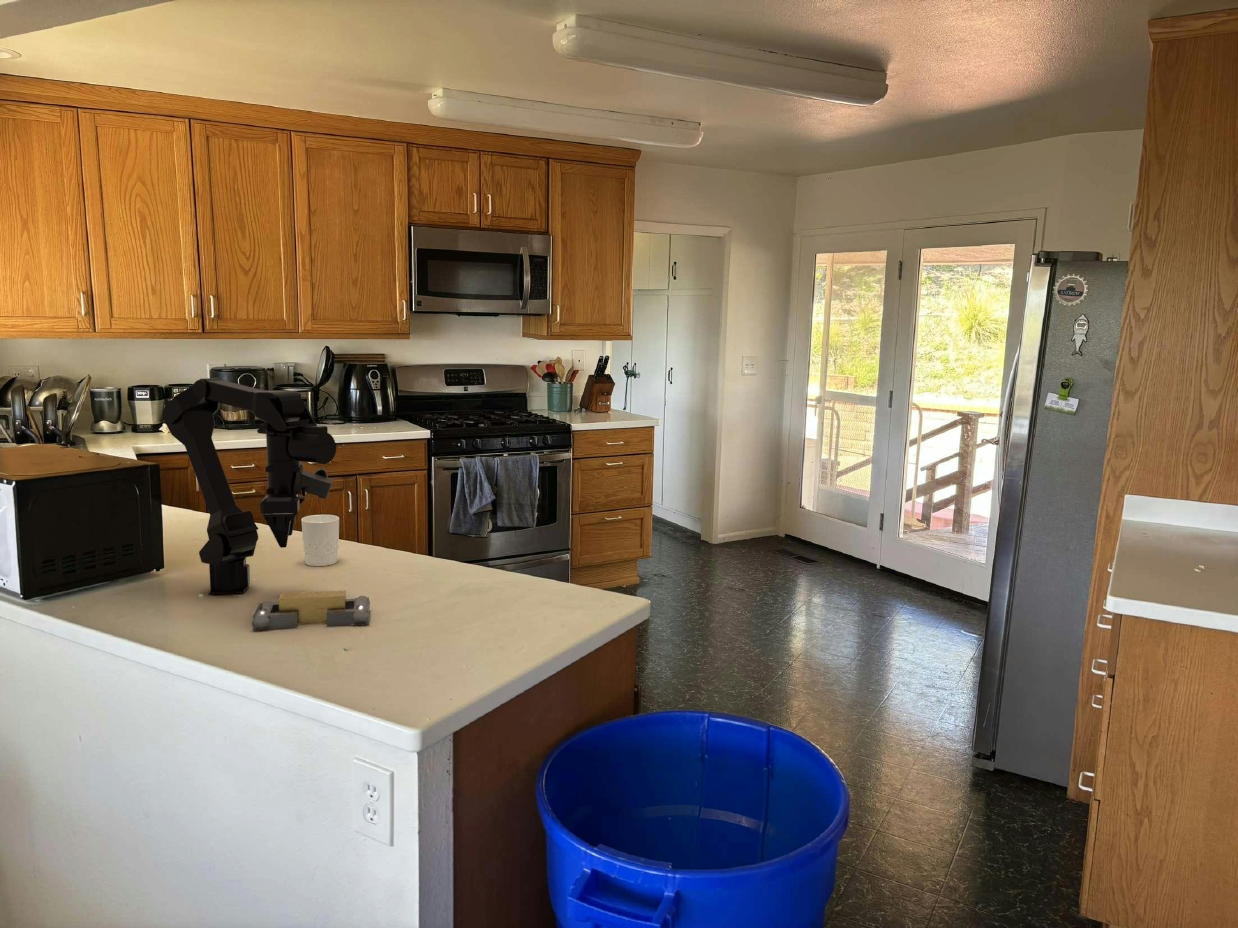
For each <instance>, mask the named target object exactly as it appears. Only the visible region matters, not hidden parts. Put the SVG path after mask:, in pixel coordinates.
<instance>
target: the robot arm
mask: <svg viewBox="0 0 1238 928" xmlns="http://www.w3.org/2000/svg"><path fill="white" fill-rule="evenodd" d="M221 404H223V405H227V406H232V407H235V408H239V409H242V410H246V411H249V412H251V413H252V414H253V415H254V417H255V418H257V419H258V420H261V421H263V422H264V423H263V425H262V426H260V427H259V428H258V429H257V431H256V432H257V434H262V435H265V436H266V437H265V438H266V439H265V441H266V466H265V473H267V488H266V495H265V497H264V498H263V499H262V500H261V501H260V503H259V507H260V508H259V510H260V511H259V512H260V514H262V517H263V518H264V520H265V521H266V523H267V525H268V527H269V529H270V531H271V532H272V534H273V536H274V539H275V540H276V542H277V545H278V546H279V548H281V549H283V548H287V546H288V541H289V537H290V536H292V535H293V533H294V532H293V531H294V526H295V521H296V516H297V515H298V514H299V512H300V505H301V504H302V503H303V502H304V501H305V500H306V496H307V495H308V494H311V495H314V496H317V497H318V498H319V499H324V500H327V498H328V496H329V493H330V490H331V488H332V485H333V483H334V480H333V479H332V477H328V470H326V469H324V468H318V469H317V470H316V471H314V472H312V471H306V470H304V463H313V464H321V465H327V464H329V463H330V462H332V461H333V460H334V458H335V456H336V453H337V448H338V447H337V443H336V441H335V438H334V437H333V435H332V434H331V433H329V432H328V426H327V425H317V422H316V421H315V418H314V416H313V415H312V414H311V412H310V410H309V408H308V407H307V405H306V404H305V400H303V397H302V394H301V393H300V392H298V391H296V390H285V389H284V390H264V389H259V388H254V387H252V386H251V387H250V386H248V385H243V384H240V383H236V382H231V381H227V380H224V379H223V378H220V377H210V378H209V377H208V378H207V377H206V378H199V379H197V380H195V382H193V384H192V385H190V387H188V388H186V389H185V390H183V391H181V392H179V393H178V394H176V395H175V396H173V398H172V399H169V400H168V401H167V403H166V404H165V406H164V407H163V410H162V417H163V421H164V423H165V425H166V427H167V429H168V431H169V432H170V434H171V436H172V437H174V438H175V439H176V440H177V441H179V443H181V444H182V445H183V446H184V448H185V451H186V453H187V456H188V458H189V461H190V463H191V467H192V468H193V469H192V470H193V471H194V474H195V477H196V479H197V483H198V486H199V488H200V491H201V494H202V497H203V499H204V501H205V504H206V507H207V510H208V512H209V518H208V523H207V527H206V533H207V537H208V540H207V542H205V544H204V545H203V547H202V548H201V549H200V550H199V552H198V554H199V559H200V562H201V563H202V564H207V565H209V566H208V569H209V590H208V593H207V594H208V595H213V596H214V595H232V594H244V593H245V592H246V590H247V589H248V588H249V586H250V585H251V572H250V564H249V563H247V558H249V557H253V556H255V555H254V554H255V550H256V547H257V542H258V540H259V533H258V530H259V527H258V526H257V524H256V523H255V520H254V519H255V518H254V516H253V513H252V511H251V510H245V511H243V510H242V509H241V508H240V507H239V506H238V505H237V503H236V500H235V497H234V495H233V493H232V490H231V488H230V484H229V481H228V479H227V476H226V474H225V470H224V469H223V468H224V467H223V466H222V463H221V460H220V456H219V455H218V452H217V449H216V446H215V444H214V441H213V438H212V437H213V433H214V429H215V425H216V423H215V417H214V415H215V414H216V413H217V412H218V411H219V410H220V409H221ZM302 462H304V463H302ZM299 495H302V496H299Z"/></svg>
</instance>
